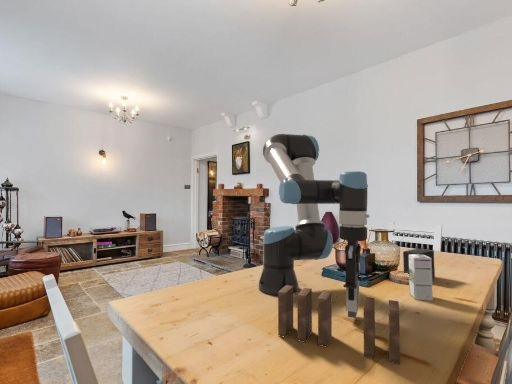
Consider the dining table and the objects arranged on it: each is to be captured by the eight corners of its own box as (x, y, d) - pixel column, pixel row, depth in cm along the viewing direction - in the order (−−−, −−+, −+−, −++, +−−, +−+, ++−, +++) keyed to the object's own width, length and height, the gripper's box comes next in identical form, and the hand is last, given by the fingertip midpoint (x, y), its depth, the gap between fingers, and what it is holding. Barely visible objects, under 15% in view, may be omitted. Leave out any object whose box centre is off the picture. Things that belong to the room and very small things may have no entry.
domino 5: (363, 356, 60) (363, 305, 60) (365, 343, 65) (365, 296, 66) (373, 358, 59) (373, 306, 59) (375, 345, 64) (374, 297, 65)
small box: (418, 274, 126) (418, 248, 126) (435, 277, 120) (434, 250, 120) (403, 278, 119) (402, 250, 119) (419, 282, 113) (419, 253, 113)
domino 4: (347, 316, 76) (347, 277, 76) (350, 308, 82) (350, 271, 82) (355, 318, 75) (355, 278, 75) (357, 309, 81) (357, 272, 81)
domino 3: (318, 345, 64) (318, 298, 65) (323, 334, 70) (323, 290, 70) (326, 347, 63) (326, 299, 64) (331, 335, 69) (331, 291, 69)
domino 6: (389, 362, 58) (388, 309, 58) (389, 348, 63) (388, 299, 63) (400, 364, 57) (399, 310, 57) (399, 350, 62) (398, 301, 63)
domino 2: (297, 340, 66) (297, 294, 67) (304, 329, 72) (304, 287, 72) (305, 342, 66) (305, 296, 66) (311, 331, 71) (311, 288, 71)
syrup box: (433, 301, 92) (432, 257, 93) (414, 299, 94) (413, 257, 94) (426, 295, 98) (426, 254, 98) (408, 294, 99) (408, 253, 100)
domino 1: (278, 336, 69) (278, 291, 69) (286, 326, 74) (286, 285, 74) (285, 337, 68) (285, 292, 68) (293, 327, 73) (293, 286, 73)
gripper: (364, 230, 68) (364, 323, 68) (369, 223, 86) (369, 297, 85) (333, 228, 72) (333, 317, 71) (344, 222, 89) (344, 293, 89)
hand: (352, 306), depth 78 cm, fingers closed on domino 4, 6 cm apart
